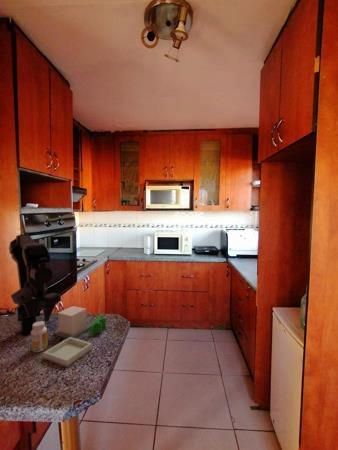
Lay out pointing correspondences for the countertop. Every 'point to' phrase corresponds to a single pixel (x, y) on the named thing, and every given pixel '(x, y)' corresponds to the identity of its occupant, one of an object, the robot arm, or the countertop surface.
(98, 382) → the countertop surface
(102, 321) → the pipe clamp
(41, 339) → the supplement bottle
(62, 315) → the plain beige box
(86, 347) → the tray
